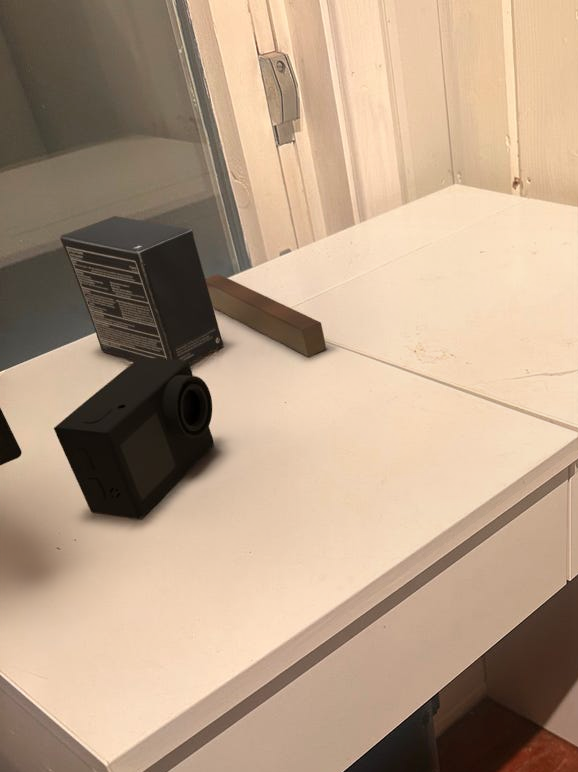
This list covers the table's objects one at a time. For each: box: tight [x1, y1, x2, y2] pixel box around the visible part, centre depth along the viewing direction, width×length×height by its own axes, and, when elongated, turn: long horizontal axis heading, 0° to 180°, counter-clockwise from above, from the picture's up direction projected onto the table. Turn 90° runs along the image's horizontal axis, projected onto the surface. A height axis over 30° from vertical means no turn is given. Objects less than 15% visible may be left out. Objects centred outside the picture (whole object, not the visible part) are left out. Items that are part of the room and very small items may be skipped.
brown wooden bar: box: [205, 273, 327, 358], centre depth 85 cm, size 18×2×2 cm, turn 42°
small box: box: [59, 215, 224, 365], centre depth 81 cm, size 11×6×10 cm, turn 56°
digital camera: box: [53, 357, 215, 519], centre depth 65 cm, size 10×5×7 cm, turn 162°
